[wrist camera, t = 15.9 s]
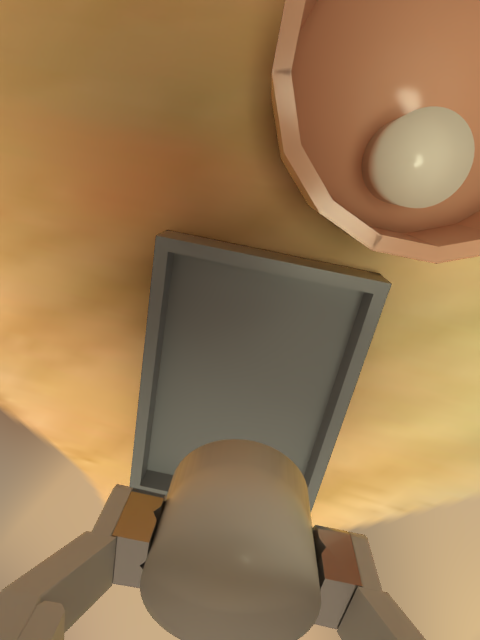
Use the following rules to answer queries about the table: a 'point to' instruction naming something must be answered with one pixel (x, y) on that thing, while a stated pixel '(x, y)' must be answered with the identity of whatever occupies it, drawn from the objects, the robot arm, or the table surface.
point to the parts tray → (248, 354)
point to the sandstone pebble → (419, 158)
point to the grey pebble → (234, 548)
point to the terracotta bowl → (376, 111)
